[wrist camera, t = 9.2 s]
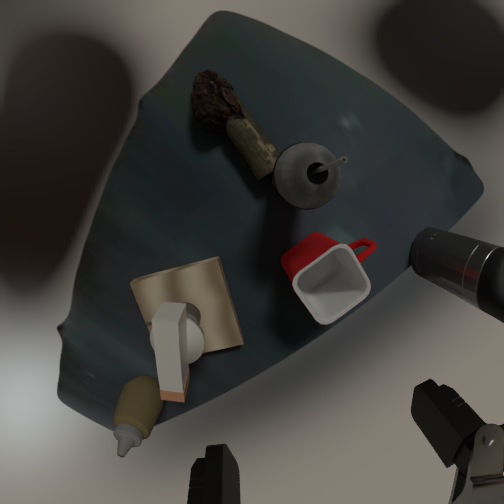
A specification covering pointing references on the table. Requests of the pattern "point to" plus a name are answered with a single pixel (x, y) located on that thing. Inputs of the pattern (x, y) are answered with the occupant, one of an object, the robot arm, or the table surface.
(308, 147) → the beverage cup
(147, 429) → the squeeze bottle
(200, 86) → the morel mushroom
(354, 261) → the mug
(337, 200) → the table surface
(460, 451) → the robot arm
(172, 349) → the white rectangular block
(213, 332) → the post block
